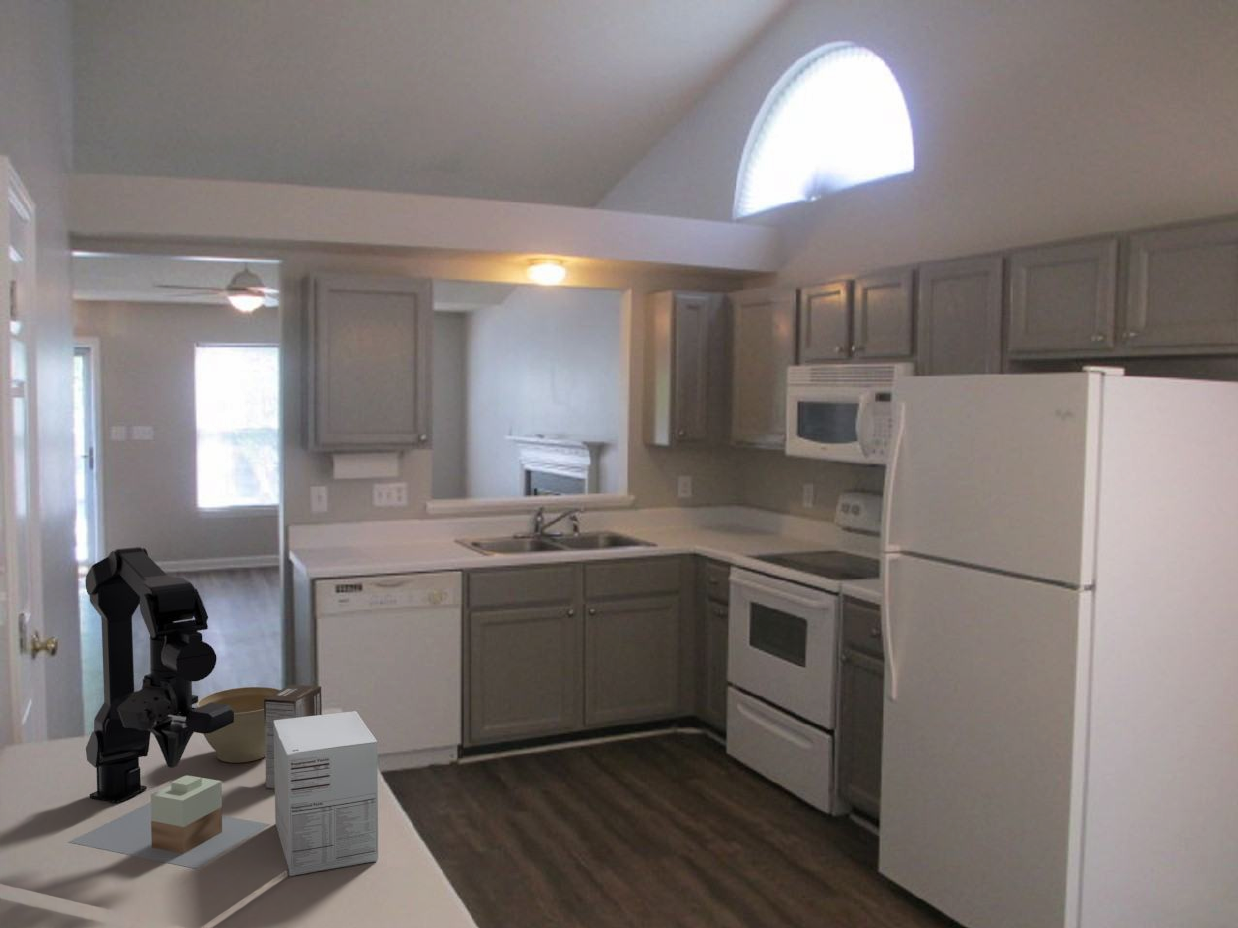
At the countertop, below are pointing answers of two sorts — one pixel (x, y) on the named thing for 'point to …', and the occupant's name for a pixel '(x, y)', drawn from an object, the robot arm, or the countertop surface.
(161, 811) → the upper brick
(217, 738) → the planter bowl
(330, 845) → the supplement box
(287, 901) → the countertop surface
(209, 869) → the countertop surface
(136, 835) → the base plate
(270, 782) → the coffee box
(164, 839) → the lower brick
